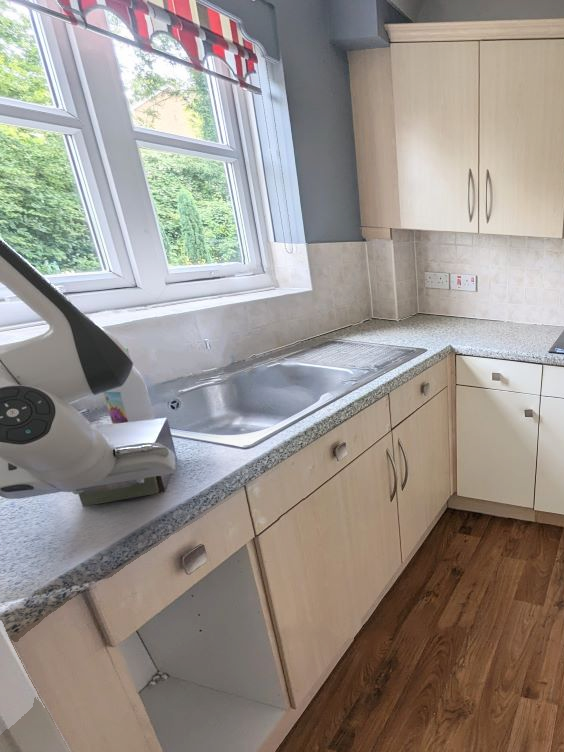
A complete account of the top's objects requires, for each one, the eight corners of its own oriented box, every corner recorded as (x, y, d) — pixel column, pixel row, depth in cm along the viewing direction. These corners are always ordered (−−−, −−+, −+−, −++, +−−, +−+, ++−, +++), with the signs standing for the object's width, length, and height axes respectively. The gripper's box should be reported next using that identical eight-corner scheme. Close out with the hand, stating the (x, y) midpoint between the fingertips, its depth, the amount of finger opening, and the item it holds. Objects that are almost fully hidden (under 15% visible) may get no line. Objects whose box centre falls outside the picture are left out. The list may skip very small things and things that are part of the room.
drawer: (153, 505, 79) (142, 465, 77) (74, 520, 75) (59, 478, 72) (170, 461, 94) (161, 427, 91) (105, 471, 89) (93, 435, 86)
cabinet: (165, 491, 85) (153, 445, 82) (82, 506, 80) (66, 458, 76) (177, 458, 97) (167, 417, 94) (106, 469, 91) (92, 426, 88)
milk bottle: (154, 420, 115) (134, 343, 108) (158, 429, 110) (138, 349, 103) (113, 427, 109) (89, 347, 103) (116, 438, 104) (91, 354, 97)
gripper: (162, 426, 72) (184, 455, 83) (-25, 449, 62) (29, 478, 73) (164, 463, 69) (186, 488, 81) (-29, 493, 60) (27, 516, 71)
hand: (110, 484), depth 77 cm, fingers closed on drawer, 6 cm apart
